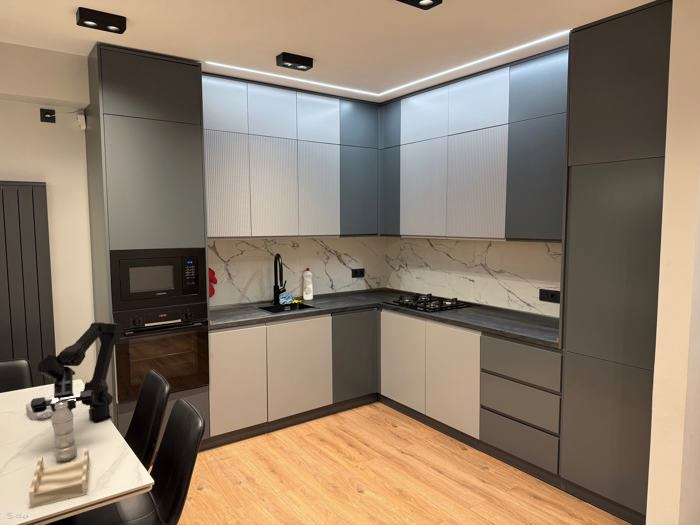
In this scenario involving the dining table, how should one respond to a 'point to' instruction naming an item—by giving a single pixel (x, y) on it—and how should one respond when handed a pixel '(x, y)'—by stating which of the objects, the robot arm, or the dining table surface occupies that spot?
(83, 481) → the tray
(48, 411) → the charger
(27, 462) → the dining table surface
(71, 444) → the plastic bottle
